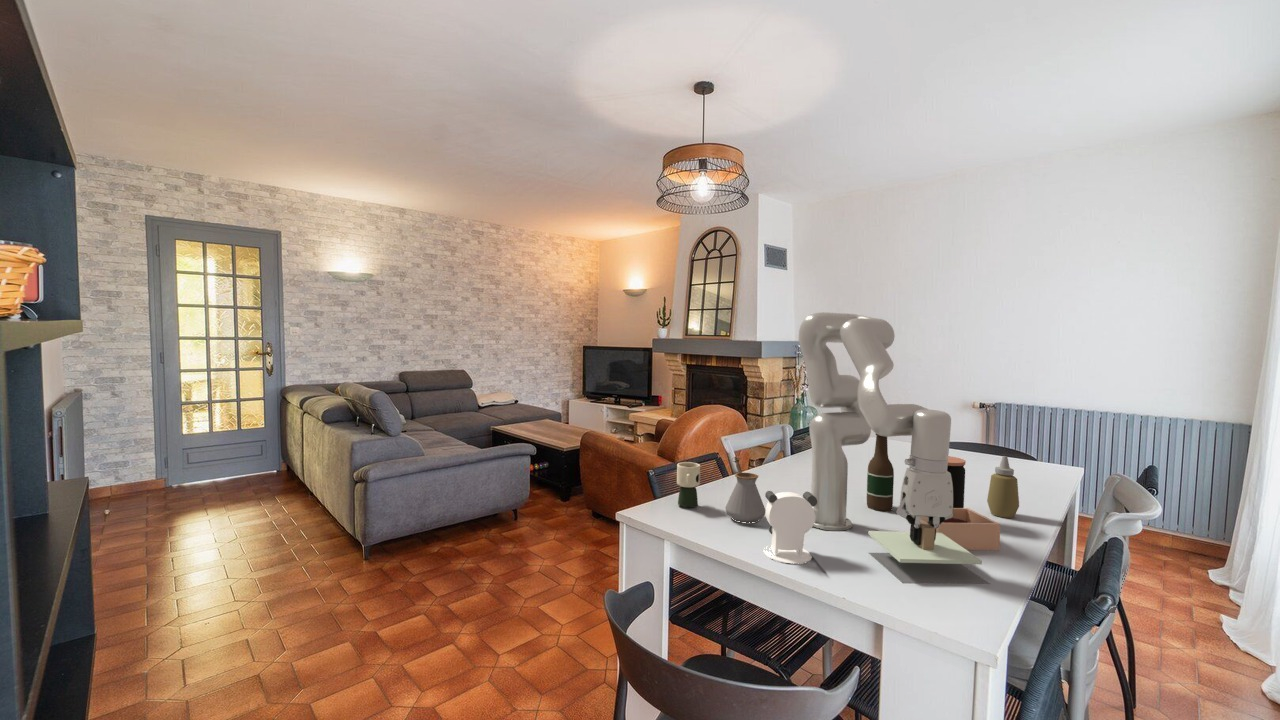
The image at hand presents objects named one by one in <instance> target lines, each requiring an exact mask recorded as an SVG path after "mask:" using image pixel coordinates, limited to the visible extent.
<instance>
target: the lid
mask: <svg viewBox="0 0 1280 720" xmlns="http://www.w3.org/2000/svg"><path fill="white" fill-rule="evenodd" d="M920 528H921V529H922V534H921V545H916V544H915V543H914V542H912V541H911V538H910V531H892V530H891V531H888V530H885V531H884V530H882V531H881V530H868V533H867V534H868V535H869V536H870V537H871V538H872V539H873V540H874V541H876V543H877V544H879V545H880V546H881V547H882V548H883V549H885V551H887V553H890V554H891V555H892V556H893V557H894V558H895V559H897V560H898V561H899V562H900V563H941V564H962V565H983V560H982V559H981V558H979V557H977V556H976V555H974V554H973V553H972V552H970V551H969V550H968V549H964V548H963V547H961V546H960V545H958V544H957V543H956V542H954V541H953V540H951V539H950V538H948V537H947V536H945V535H944V534H942V533H936V539H935V541H934V537H935V528H934V527H932V526H931V525H930V524H928V523H927V522H925V521H924V520H921V521H920Z"/></svg>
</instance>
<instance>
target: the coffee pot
mask: <svg viewBox="0 0 1280 720" xmlns="http://www.w3.org/2000/svg"><path fill="white" fill-rule="evenodd" d="M733 459H734V460H733ZM731 460H732V462H733V463H735V467H736V469H737V472H736V473H735V475H734V476H735V477H736V483H735V486H734V488H733V490H732V492H731V495H730V496H729V499H728V500H727V503H726V505H725V507H724V508H725V513H726V514H727V515H728V516H729V517H730V518H731V519H732V518H733V519H734V520H736V521H740V522H746V523H749V522H750V523H751V524H753V523H752V522H756V521H758V520H759V521H760V520H762V519H763V518H764V517H765V516H766V514H765V511H766V506H765V504H764V503H763V500H762V497H761V495H760V493H759V492H760V491H759V489H758V487H757V485H756V482H757V480H758V478H759V475H758V474H757V473H753V472H752V473H751V472H742V468H741V464H740V463H739V461H740V459H739V458H738V457H737V455H736V456H734V457H732V458H731ZM733 519H732V520H733ZM734 520H733V521H734ZM736 521H735V522H736ZM759 521H758V522H759ZM746 523H745V524H746ZM756 523H757V522H756Z"/></svg>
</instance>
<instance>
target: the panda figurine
mask: <svg viewBox="0 0 1280 720" xmlns="http://www.w3.org/2000/svg"><path fill="white" fill-rule="evenodd" d="M765 498H766V499H767V503H766V506H765V510H766V511H765V517H766V520H767V522H768V523H769V527H768V531H769V533H770V534H771V543H770V545H771V547H770V548H771V549H770V548H769V550H772V552H773V554H774V555H775V556H774V555H773V554H772V553H771V552H770V551H769V552H768V551H767V550H766V551H765V550H764V549H765V547H766V549H767V547H768V546H769V545H767V546H765V547H764V548H763V549H762V550H763V552H764V553H763V555H764V554H765V555H766V556H767V557H769V558H771V559H774V560H777V561H780V562H784V563H792V564H791V565H794V564H796V565H799V564H798V563H805V562H808V561H810V560H811V559H812V560H813V555H812V554H811V552H810V551H809V550H807V549H805V548H804V540H805V535H806V534H807V533H808V532H809V531H810V530H811V529H812V528H813V525H814V523H815V512H814V510H813V508H812V506H815V505H816V504H817V499H816V497H815V496H813V495H812V494H811V492H810V491H804V493H803V494H802V495H801V494H799V493H797V492H791V491H782V492H781V491H780V492H777V493H774V492H773V491H772V490H767V491H766V492H765ZM778 549H779V550H778ZM778 551H779V553H778ZM765 555H764V556H765ZM771 555H772V556H771ZM766 556H765V557H766ZM767 557H766V558H767ZM769 558H768V559H769ZM771 559H770V560H771ZM812 560H811V561H812ZM811 561H810V562H811ZM784 563H783V564H784ZM793 563H794V564H793ZM808 563H809V562H808ZM805 564H806V563H805Z"/></svg>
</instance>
